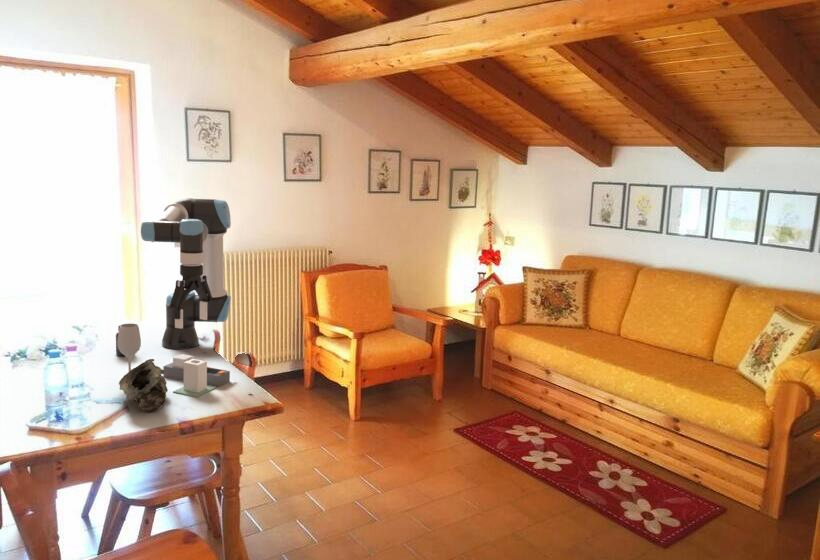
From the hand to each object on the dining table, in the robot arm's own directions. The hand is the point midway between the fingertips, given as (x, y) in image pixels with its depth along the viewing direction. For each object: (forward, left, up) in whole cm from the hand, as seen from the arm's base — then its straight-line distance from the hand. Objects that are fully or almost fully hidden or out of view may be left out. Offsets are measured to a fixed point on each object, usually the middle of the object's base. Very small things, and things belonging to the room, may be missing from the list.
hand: (191, 323), depth 226 cm
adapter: (-8, -10, -21) cm, 24 cm away
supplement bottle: (-19, -47, -24) cm, 56 cm away
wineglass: (+6, -22, -24) cm, 33 cm away
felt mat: (+2, +3, -23) cm, 24 cm away
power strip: (-8, -7, -23) cm, 26 cm away
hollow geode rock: (+20, -3, -24) cm, 31 cm away
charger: (+2, +3, -23) cm, 23 cm away
